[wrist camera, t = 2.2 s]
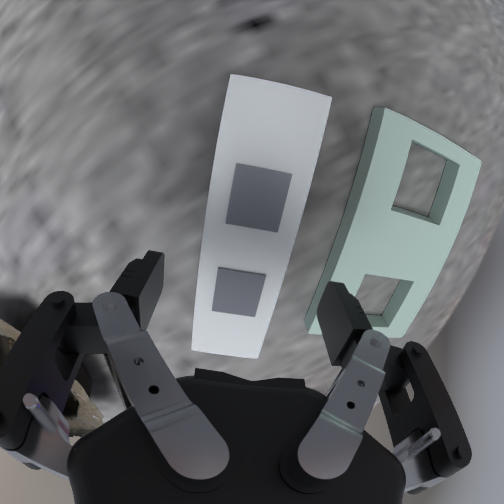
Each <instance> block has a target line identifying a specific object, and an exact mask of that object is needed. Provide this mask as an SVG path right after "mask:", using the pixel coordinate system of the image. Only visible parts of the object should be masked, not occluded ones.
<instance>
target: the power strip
mask: <svg viewBox="0 0 504 504" xmlns="http://www.w3.org/2000/svg"><path fill="white" fill-rule="evenodd" d="M331 101H332V97H330V96H326V95H323V94H320V93H316V92H313V91H309V90H306V89H302V88H298V87H294V86H290V85H286V84H282V83H277V82H273V81H268V80H263V79H258V78H252V77H247V76H241V75H234V74H231V75H230V80H229V84H228V89H227V94H226V99H225V104H224V108H223V114H222V119H221V124H220V129H219V135H218V140H217V146H216V151H215V157H214V163H213V169H212V175H211V181H210V188H209V194H208V201H207V208H206V215H205V222H204V230H203V237H202V245H201V254H200V262H199V271H198V280H197V290H196V300H195V311H194V322H193V335H192V348H191V350H194V351H201V352H207V353H214V354H221V355H229V356H237V357H245V358H255V359H258V356H259V353H260V350H261V347H262V344H263V341H264V338H265V335H266V332H267V329H268V326H269V323H270V320H271V317H272V314H273V311H274V307H275V304H276V301H277V298H278V295H279V292H280V289H281V285H282V282H283V279H284V276H285V272H286V269H287V266H288V263H289V259H290V256H291V253H292V249H293V246H294V242H295V239H296V235H297V232H298V229H299V225H300V222H301V218H302V214H303V211H304V207H305V204H306V200H307V196H308V193H309V189H310V185H311V182H312V178H313V174H314V170H315V166H316V163H317V159H318V155H319V151H320V147H321V143H322V139H323V135H324V131H325V127H326V122H327V118H328V114H329V110H330V105H331Z"/></svg>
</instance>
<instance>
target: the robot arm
mask: <svg viewBox="0 0 504 504" xmlns="http://www.w3.org/2000/svg"><path fill="white" fill-rule="evenodd" d="M163 279H164V253H162V252H156V251H150V250H149V251H148V252H147V253H146V255H145V256H144V258H143V259H135V260H133V261H132V262H130V263H129V264H128V265H127V267H126V268H125V270H124V271H123V272H122V274H121V276H120V277H119V278H118V280H117V281H116V283H115V284H114V286H113V287H112V289H111V290H110V292H105V293H102V294H100V295H98V296H97V297H95V299H94V300H93V302H92V303H75V302H74V298H73V296H72V295H71V294H70V293H68V292H66V291H56V292H53V293H51V294H49V295H48V296H47V297H46V298H45V299H44V300H43V302H42V303H41V304H40V306H39V307H38V309H37V310H36V311H35V313H34V314H33V316H32V317H31V319H30V320H29V322H28V323H27V325H26V326H25V328H24V329H23V331H22V332H21V334H20V335H19V337H18V338H17V340H16V342H15V343H14V345H13V346H12V348H11V350H10V351H9V353H8V355H7V356H6V358H5V360H4V362H3V363H2V365H1V367H0V447H1V448H2V449H4V450H5V451H6V452H7V453H9V454H10V455H11V456H13V457H14V458H15V459H16V460H18V461H20V462H22V463H23V464H25V465H26V466H28V467H29V468H31V469H35V470H38V469H44V470H46V471H48V472H51V473H53V474H55V475H57V476H60V477H62V478H65V479H67V480H69V481H70V484H71V487H72V491H73V494H74V501H75V504H402V498H403V494H404V492H408V493H409V494H418V493H420V492H422V491H424V490H426V489H428V488H430V487H432V486H433V485H435V484H437V483H439V482H441V481H443V480H444V479H446V478H448V477H449V476H451V475H453V474H454V473H456V472H458V471H459V470H461V469H462V468H464V467H465V466H467V465H468V464H469V462H470V460H471V456H472V452H471V448H470V445H469V442H468V439H467V437H466V434H465V432H464V429H463V427H462V424H461V422H460V419H459V417H458V414H457V412H456V410H455V408H454V405H453V403H452V401H451V399H450V396H449V394H448V392H447V390H446V388H445V386H444V384H443V382H442V380H441V378H440V376H439V373H438V372H437V370H436V368H435V366H434V364H433V362H432V360H431V358H430V356H429V354H428V352H427V351H426V349H425V348H424V347H423V346H422V345H420V344H419V343H416V342H412V341H410V342H407V343H406V344H405V346H404V347H403V349H401V348H398V347H394V346H391V345H390V341H389V339H388V338H387V337H386V336H385V335H384V334H383V333H381V332H379V331H377V330H373V328H372V326H371V324H370V322H369V320H368V318H367V316H366V314H364V311H363V309H362V308H361V305H360V303H359V301H358V300H357V299H356V298H355V297H354V296H353V295H352V294H350V293H349V291H348V290H347V288H346V286H345V284H344V283H341V282H334V281H329V282H328V283H327V285H326V287H325V290H324V292H323V295H322V297H321V299H320V302H319V304H318V307H317V319H318V322H319V325H320V328H321V332H322V335H323V338H324V341H325V345H326V348H327V351H328V355H329V358H330V361H331V365H332V366H341V367H342V369H341V371H340V372H339V374H338V375H337V377H336V379H335V380H334V382H333V384H332V385H331V387H330V389H329V390H328V392H327V394H326V395H323V394H321V393H320V392H318V391H316V390H313V389H311V388H308V387H306V386H305V381H304V379H292V378H274V379H266V380H259V381H249V380H246V379H243V378H239V377H236V376H233V375H230V374H227V373H224V372H219V371H212V370H205V369H199V368H195V374H194V376H185V377H180V378H176V379H175V377H174V376H173V374H172V373H171V371H170V369H169V368H168V366H167V365H166V363H165V361H164V360H163V358H162V356H161V355H160V353H159V351H158V350H157V348H156V346H155V344H154V343H153V341H152V339H151V337H150V335H149V334H148V332H147V331H146V329H147V326H148V324H149V321H150V319H151V316H152V314H153V311H154V309H155V307H156V304H157V302H158V299H159V297H160V295H161V292H162V288H163ZM85 354H104V357H105V360H106V362H107V365H108V367H109V370H110V372H111V375H112V377H113V380H114V382H115V385H116V387H117V389H118V392H119V395H120V397H121V400H122V402H123V404H124V406H125V409H126V410H125V411H123V412H122V413H120V414H118V415H117V416H115V417H114V418H112V419H111V420H109V421H108V422H106V423H104V424H103V425H101V426H100V427H98V428H96V429H95V430H93V431H91V432H90V433H88V434H87V435H85V436H83V437H82V438H80V439H79V440H78V441H77V442H76V443H75V444H74V445H73V446H71V445H70V442H69V431H70V430H69V425H68V422H67V421H66V419H65V418H64V416H63V415H62V413H63V410H64V407H65V405H66V402H67V399H68V396H69V393H70V391H71V388H72V385H73V383H74V380H75V378H76V375H77V373H78V370H79V368H80V365H81V363H82V361H83V358H84V356H85ZM409 383H411V385H412V388H413V390H414V399H413V400H412V402H411V401H410V399H409V396H408V393H407V391H406V388H405V387H406V386H407V385H408V384H409ZM378 394H379V397H380V400H381V403H382V407H383V410H384V413H385V417H386V420H387V424H388V428H389V431H390V435H391V438H392V442H393V446H394V449H393V452H392V453H391V452H390V451H389V450H387V449H386V448H385V447H383V446H382V445H381V444H380V443H379V442H378V441H377V440H375V439H374V438H373V437H372V436H371V435H369V434H368V433H367V432H366V431H365V430H364V427H365V425H366V423H367V420H368V418H369V416H370V413H371V411H372V408H373V406H374V403H375V401H376V398H377V396H378Z"/></svg>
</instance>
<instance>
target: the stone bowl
mask: <svg viewBox="0 0 504 504" xmlns="http://www.w3.org/2000/svg"><path fill="white" fill-rule="evenodd" d="M26 325H27V324H24V325H9V324H8V323H6V322H5V321H3V320H2V319H0V367H1V365H2V363H3V362H4V360H5V358H6V356H7V355H8V353H9V351H10V350H11V348H12V346H13V345H14V343H15V342H16V340H17V338H18V337H19V335H20V334H21V332H22V331H23V329H24V328H25V326H26ZM91 387H92V385H91V379H90V376H89V375H88V374H87V373H86V370H85V368H84V366H83V365H82V364H81V365H80V368H79V370H78V373H77V375H76V378H75V380H74V383H73V385H72V388H71V391H70V393H69V396H68V399H67V402H66V405H65V407H64V410H63V413H62V415H63V416H64V418H65V419H66V421H67V422H68V425H69V430H70V431H69V437H73V436H74V435H75V436H80V437H83V436H85V435H87V434H88V433H90V432H91V431H93V430H95V429H96V428H98V427H100V426H101V425H103V421H102V417H103V415H102V414H101V412H100V411H99V409H98V408H97V406H96V405H95V404H94V403H93V402H92V401H91V400H90V394H91ZM103 418H104V417H103Z"/></svg>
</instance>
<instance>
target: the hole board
mask: <svg viewBox="0 0 504 504" xmlns="http://www.w3.org/2000/svg"><path fill="white" fill-rule="evenodd" d="M411 142H413V143H415V144H417V145H419V146H421V147H423V148H425V149H427V150H429V151H431V152H433V153H435V154H437V155H439V156H441V157H443V158H444V159H446V160H447V161H446V165H445V168H444V172H443V175H442V178H441V181H440V185H439V188H438V191H437V194H436V197H435V200H434V202H433V205H432V208H431V211H430V214H429V216H428V217H426V216H423V215H420V214H417V213H414V212H411V211H408V210H405V209H401V208H398V207H395V206H392V205H393V202H394V199H395V196H396V193H397V190H398V187H399V184H400V181H401V177H402V174H403V171H404V167H405V164H406V161H407V157H408V153H409V150H410V146H411ZM481 162H482V161H480V160H479V159H477V158H476V157H475V156H473V155H472V154H470V153H469V152H467V151H466V150H464V149H462V148H461V147H459V146H458V145H456V144H455V143H453V142H451V141H450V140H448V139H446V138H445V137H443V136H441V135H439V134H438V133H436V132H434V131H432V130H430V129H429V128H427V127H425V126H423V125H421V124H419V123H417V122H415V121H413V120H411V119H409V118H407V117H405V116H403V115H401V114H399V113H397V112H394V111H392V110H390V109H388V108H385V107H373V111H372V116H371V120H370V124H369V128H368V132H367V136H366V140H365V144H364V148H363V151H362V155H361V159H360V162H359V166H358V169H357V173H356V176H355V180H354V183H353V186H352V190H351V193H350V196H349V199H348V203H347V206H346V209H345V212H344V215H343V218H342V221H341V224H340V227H339V230H338V233H337V236H336V239H335V242H334V245H333V247H332V250H331V253H330V256H329V258H328V261H327V264H326V267H325V269H324V272H323V275H322V277H321V280H320V282H319V285H318V288H317V290H316V293H315V295H314V298H313V300H312V303H311V305H310V308H309V310H308V313H307V315H306V317H305V320H304V321H305V324H306V328H307V332H308V334H319V335H322V332H321V328H320V325H319V322H318V319H317V307H318V304H319V302H320V299H321V297H322V295H323V292H324V290H325V287H326V285H327V283H328V282H329V281H334V282H341V283H344V284H345V286H346V288H347V290H348V291H349V293H350V294H352V295H353V296H354V297H355V295H356V293H357V291H358V289H359V287H360V285H361V282H362V280H363V278H364V276H365V274H370V275H377V276H383V277H389V278H396V279H401V280H400V282H399V284H398V286H397V288H396V290H395V292H394V294H393V296H392V298H391V300H390V302H389V303H388V305H387V307H386V309H385V311H384V313H383V314H382V316H380V315H367V314H366V316H367V318H368V320H369V322H370V324H371V326H372V328H373V330H377V331H379V332H381V333H383V334H384V335H385V336H386V337H387V338H402V337H403V335H404V334H405V332H406V330H407V329H408V327H409V326H410V324H411V323H412V321H413V319H414V318H415V316H416V315H417V313H418V311H419V310H420V308H421V306H422V304H423V303H424V301H425V299H426V297H427V296H428V294H429V292H430V290H431V288H432V286H433V285H434V283H435V281H436V279H437V277H438V275H439V273H440V271H441V269H442V267H443V265H444V263H445V261H446V259H447V257H448V254H449V252H450V250H451V248H452V245H453V243H454V241H455V239H456V236H457V234H458V231H459V229H460V226H461V224H462V221H463V219H464V216H465V213H466V211H467V208H468V205H469V202H470V199H471V196H472V193H473V190H474V187H475V184H476V180H477V177H478V173H479V170H480V166H481Z"/></svg>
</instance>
